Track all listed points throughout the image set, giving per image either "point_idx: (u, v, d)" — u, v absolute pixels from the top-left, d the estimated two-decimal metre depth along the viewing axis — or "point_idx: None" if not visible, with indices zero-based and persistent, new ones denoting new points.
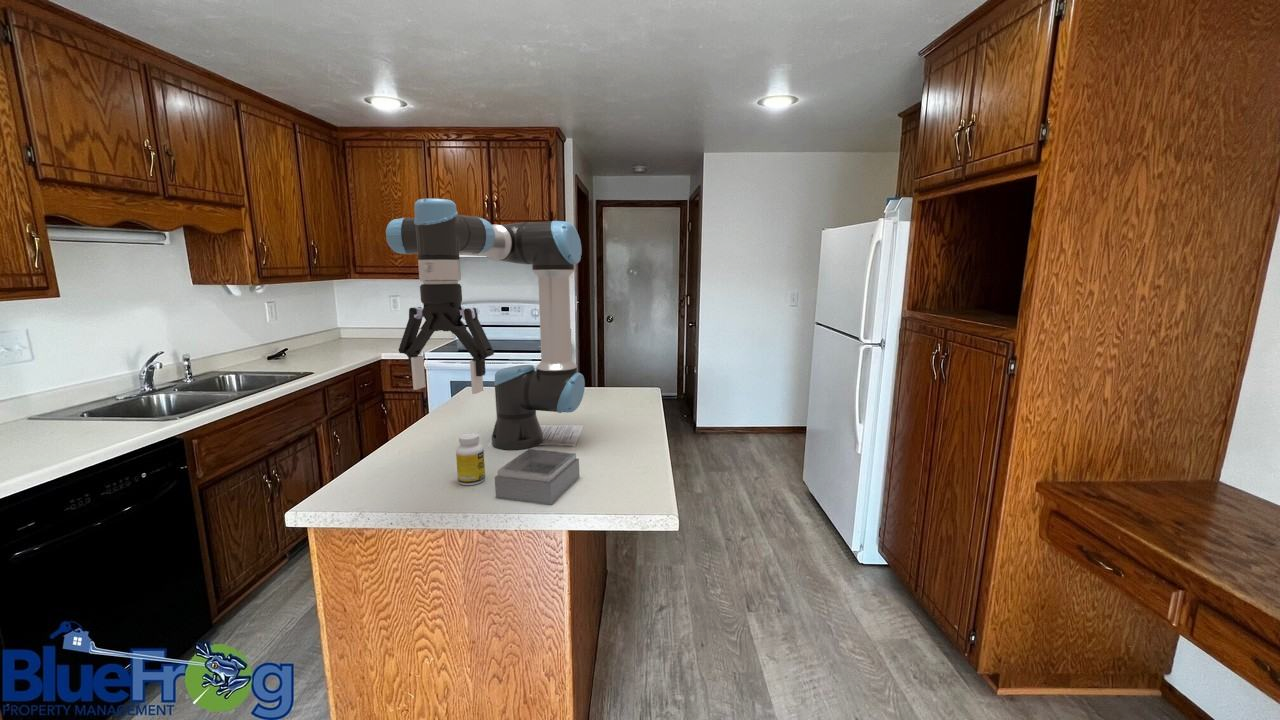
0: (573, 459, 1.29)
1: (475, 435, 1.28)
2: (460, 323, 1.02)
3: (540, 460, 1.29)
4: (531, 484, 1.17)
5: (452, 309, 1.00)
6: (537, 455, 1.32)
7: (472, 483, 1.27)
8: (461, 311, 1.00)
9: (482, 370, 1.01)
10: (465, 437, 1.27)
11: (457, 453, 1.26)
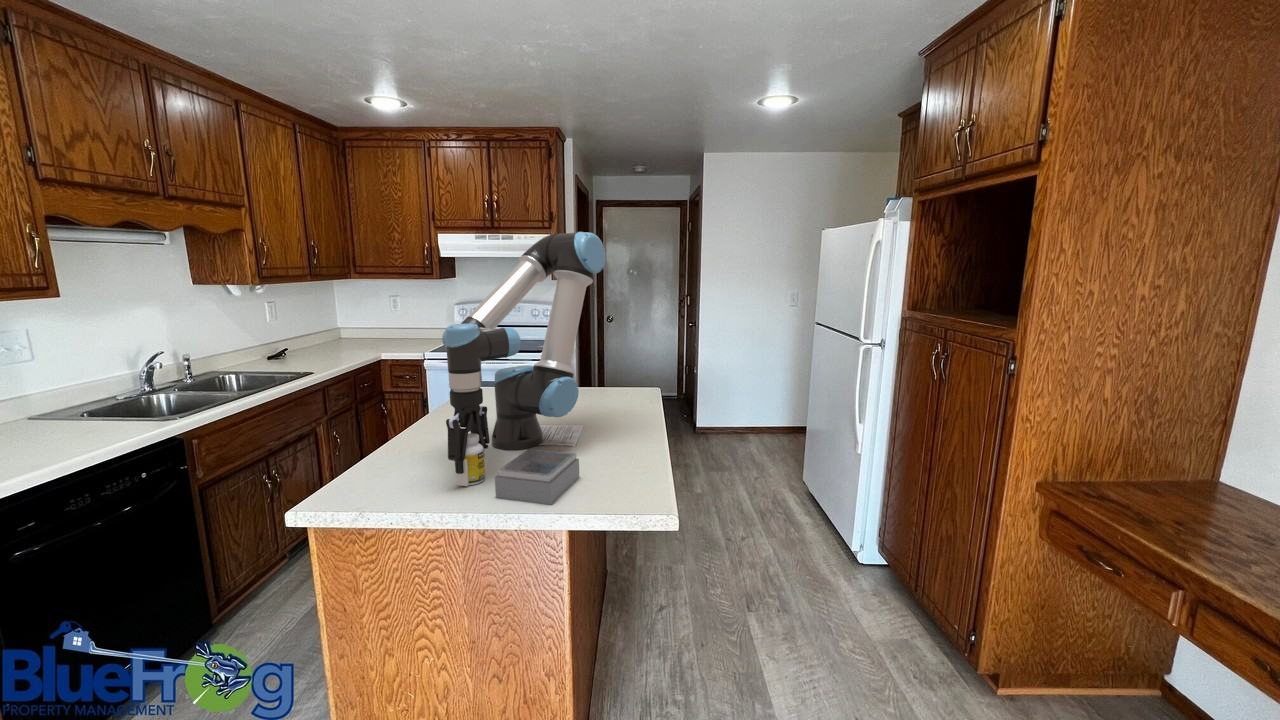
0: (573, 459, 1.29)
1: (475, 435, 1.28)
2: None
3: (540, 460, 1.29)
4: (531, 484, 1.17)
5: None
6: (537, 455, 1.32)
7: (472, 483, 1.27)
8: None
9: (457, 469, 1.24)
10: None
11: None
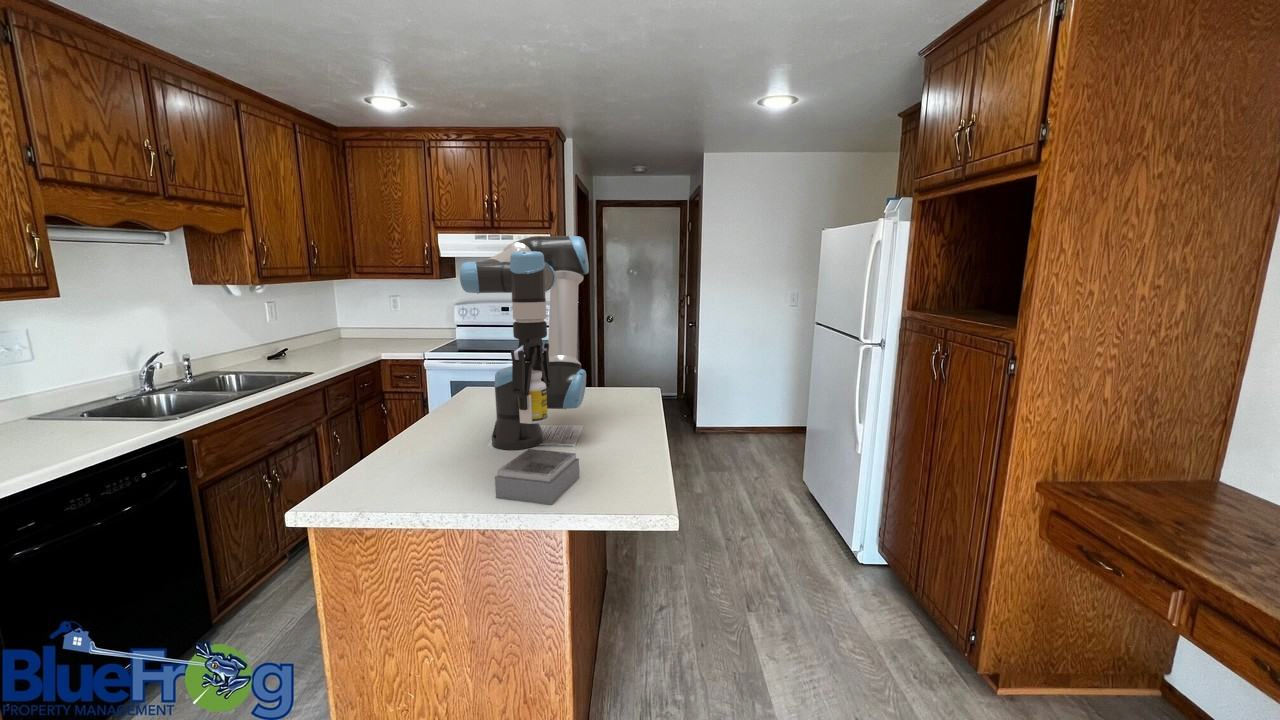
0: (573, 459, 1.29)
1: (538, 371, 1.21)
2: None
3: (540, 460, 1.29)
4: (531, 484, 1.17)
5: None
6: (537, 455, 1.32)
7: (535, 421, 1.20)
8: None
9: (520, 405, 1.17)
10: None
11: None
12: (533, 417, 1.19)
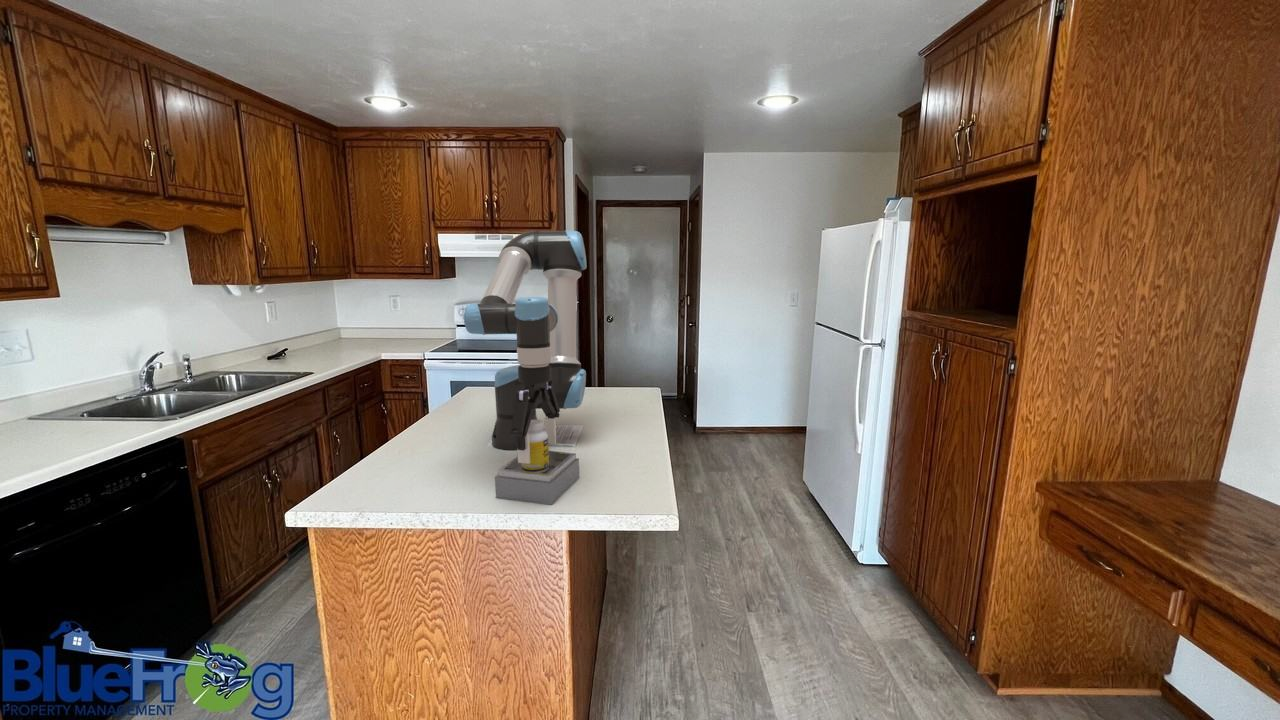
0: (573, 459, 1.29)
1: (540, 421, 1.22)
2: None
3: None
4: (531, 484, 1.17)
5: None
6: None
7: (538, 471, 1.20)
8: None
9: (518, 445, 1.16)
10: (530, 423, 1.21)
11: None
12: (535, 468, 1.20)
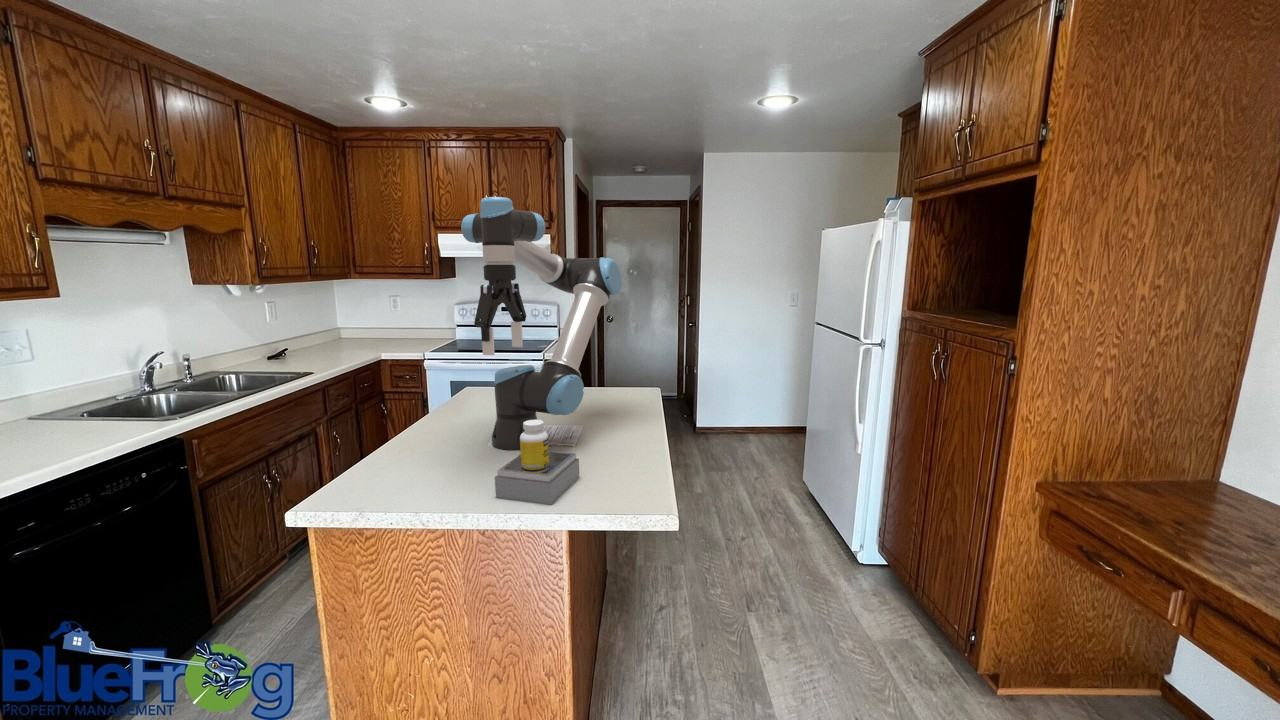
0: (573, 459, 1.29)
1: (539, 421, 1.22)
2: None
3: None
4: (531, 484, 1.17)
5: None
6: None
7: (538, 472, 1.20)
8: None
9: (483, 336, 1.22)
10: (530, 423, 1.21)
11: (522, 440, 1.20)
12: (535, 468, 1.20)
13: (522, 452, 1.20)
